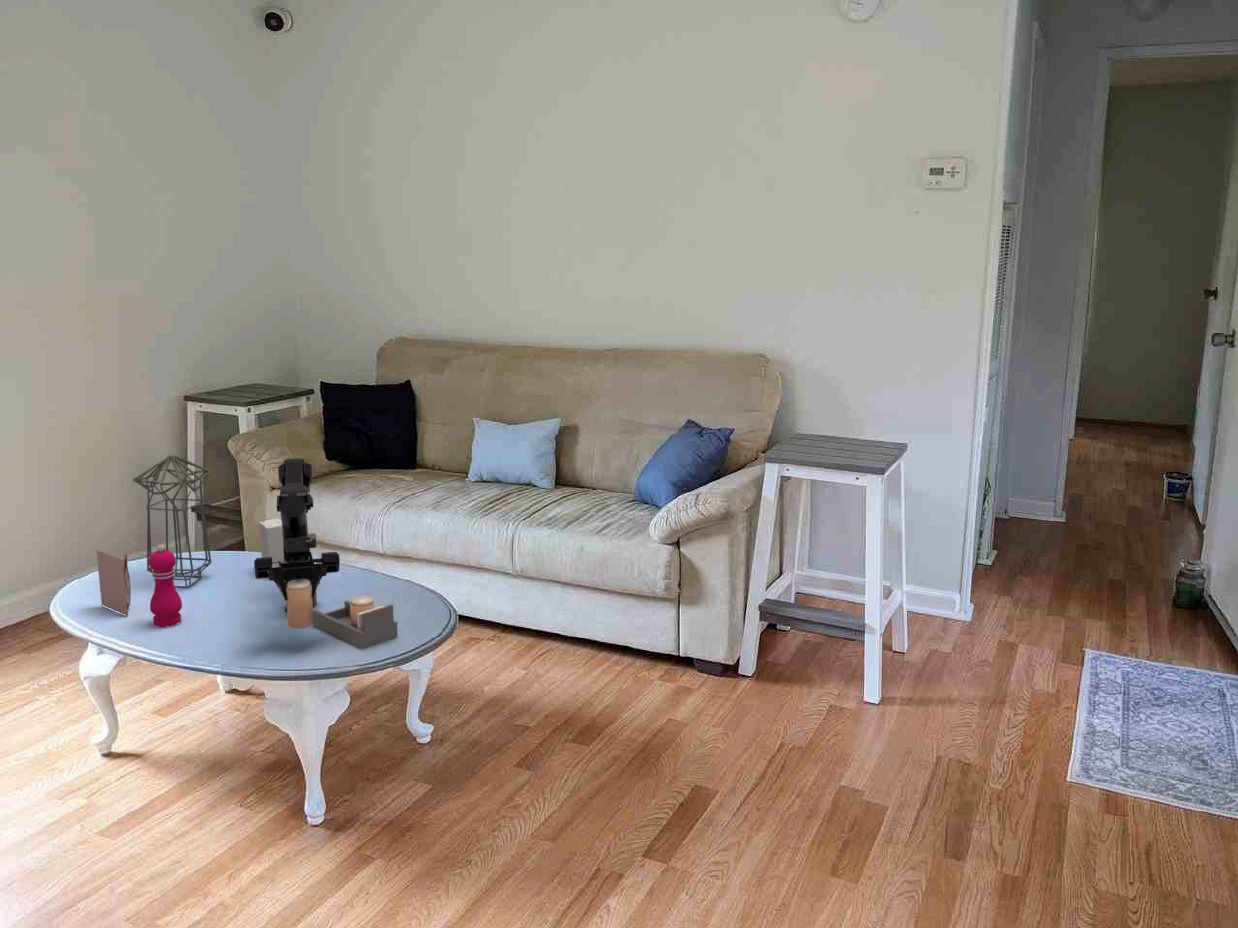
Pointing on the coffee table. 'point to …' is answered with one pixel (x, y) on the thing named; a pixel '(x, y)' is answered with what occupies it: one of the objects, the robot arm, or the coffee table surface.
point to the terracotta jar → (299, 603)
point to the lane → (374, 629)
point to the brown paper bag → (114, 582)
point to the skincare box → (271, 539)
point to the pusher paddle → (360, 618)
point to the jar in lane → (360, 607)
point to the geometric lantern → (160, 467)
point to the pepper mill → (164, 589)
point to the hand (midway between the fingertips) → (299, 598)
